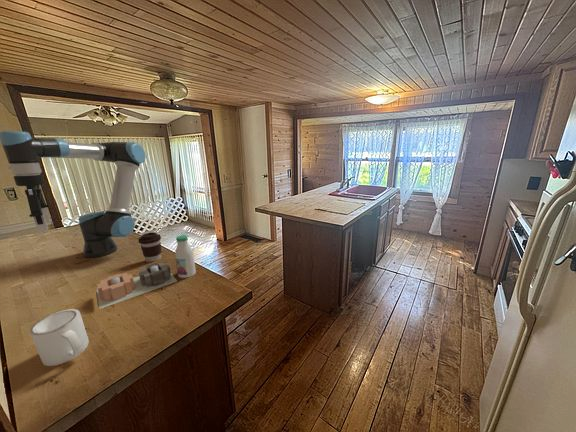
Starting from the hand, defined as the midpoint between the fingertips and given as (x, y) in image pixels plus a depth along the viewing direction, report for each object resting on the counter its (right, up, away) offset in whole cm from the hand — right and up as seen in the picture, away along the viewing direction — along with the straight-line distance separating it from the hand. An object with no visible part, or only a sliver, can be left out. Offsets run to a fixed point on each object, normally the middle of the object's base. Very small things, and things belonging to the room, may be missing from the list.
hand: (45, 227), depth 93 cm
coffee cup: (+27, -19, +29) cm, 44 cm away
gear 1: (+29, -26, +1) cm, 39 cm away
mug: (+33, -36, -25) cm, 55 cm away
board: (+35, -26, +5) cm, 44 cm away
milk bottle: (+51, -24, +15) cm, 58 cm away
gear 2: (+40, -24, +9) cm, 47 cm away
